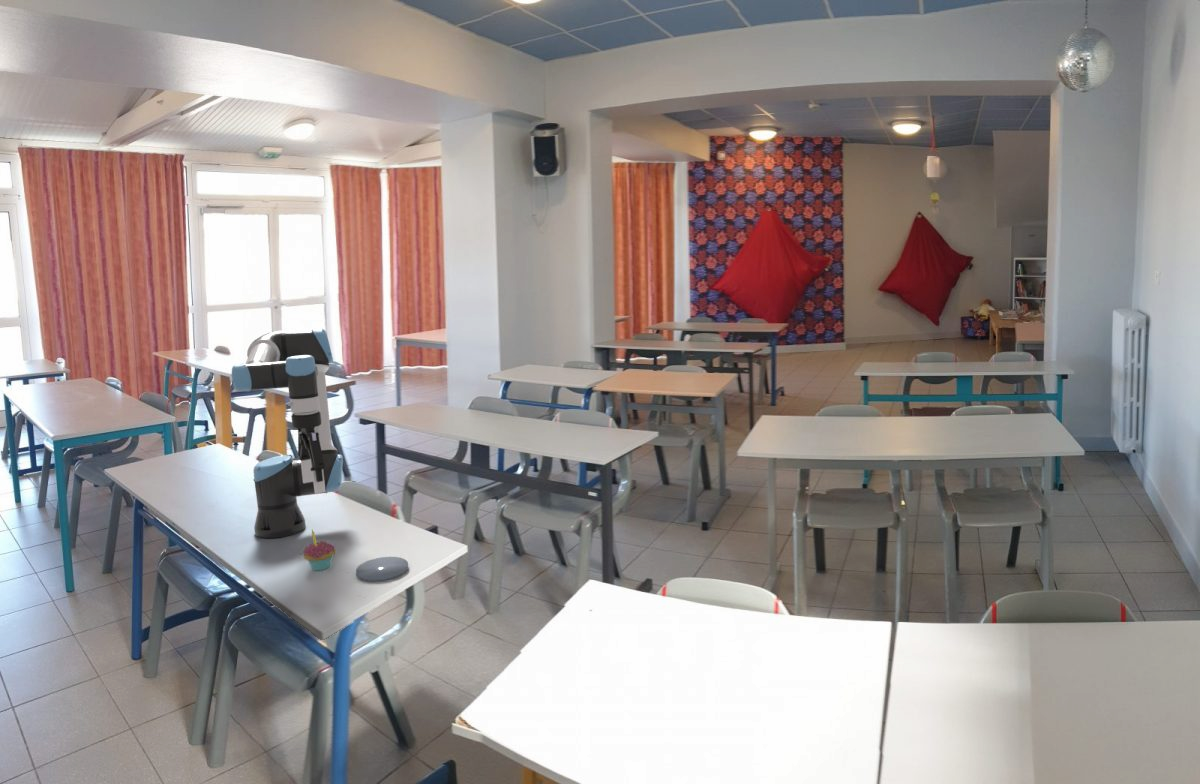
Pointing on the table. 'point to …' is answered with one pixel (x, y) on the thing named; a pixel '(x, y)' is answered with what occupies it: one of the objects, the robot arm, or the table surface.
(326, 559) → the cupcake
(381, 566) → the slate plate
